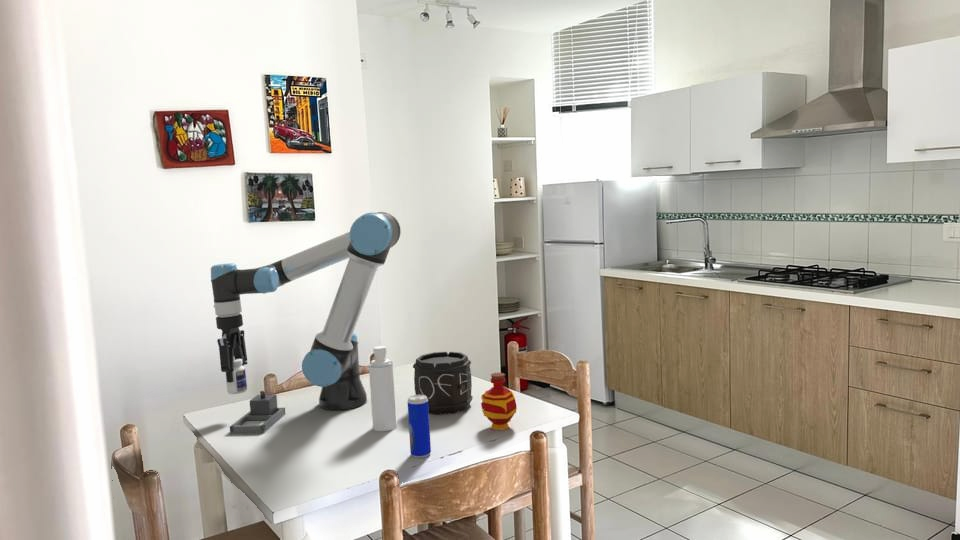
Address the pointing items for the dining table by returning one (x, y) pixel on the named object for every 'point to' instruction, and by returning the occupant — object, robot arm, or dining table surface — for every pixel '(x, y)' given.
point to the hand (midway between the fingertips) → (237, 388)
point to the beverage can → (419, 426)
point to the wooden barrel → (444, 381)
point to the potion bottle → (498, 403)
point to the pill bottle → (239, 376)
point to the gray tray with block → (259, 415)
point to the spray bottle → (382, 391)
